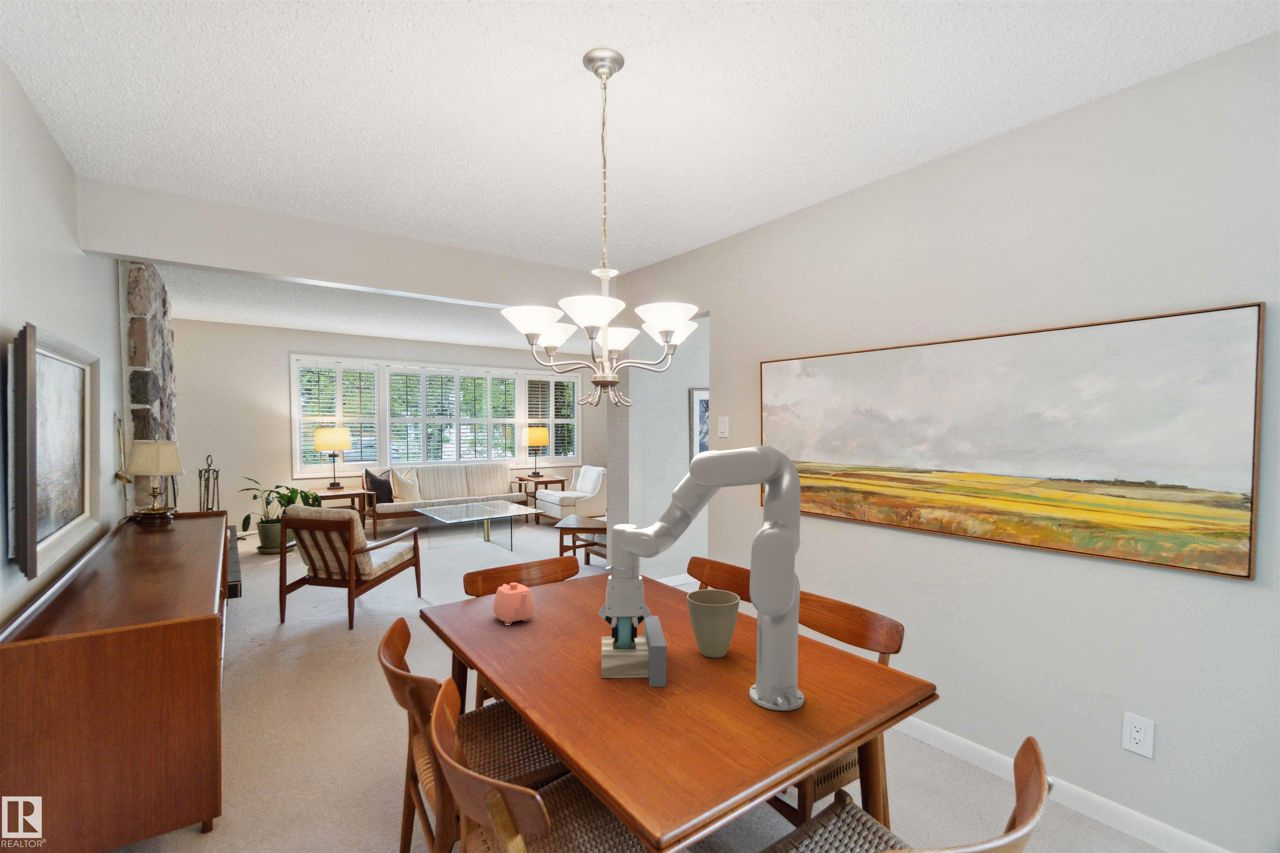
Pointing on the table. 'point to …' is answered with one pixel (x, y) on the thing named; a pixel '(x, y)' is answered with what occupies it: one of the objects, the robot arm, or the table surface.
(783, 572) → the robot arm
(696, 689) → the table surface
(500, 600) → the teapot
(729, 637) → the plant pot
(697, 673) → the table surface
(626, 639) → the dowel
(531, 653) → the table surface
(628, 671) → the socket block
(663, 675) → the rail
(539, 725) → the table surface
